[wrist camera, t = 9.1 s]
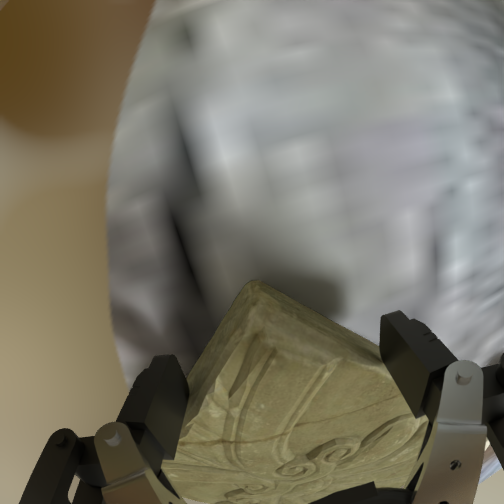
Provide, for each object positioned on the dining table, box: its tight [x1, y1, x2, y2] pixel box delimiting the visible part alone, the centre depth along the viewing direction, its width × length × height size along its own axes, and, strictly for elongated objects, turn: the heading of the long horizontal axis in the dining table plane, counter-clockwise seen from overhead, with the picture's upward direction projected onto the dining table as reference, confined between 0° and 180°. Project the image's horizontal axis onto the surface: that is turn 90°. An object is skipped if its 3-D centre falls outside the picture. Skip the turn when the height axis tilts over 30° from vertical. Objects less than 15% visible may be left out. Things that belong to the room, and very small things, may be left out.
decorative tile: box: [161, 280, 428, 504], centre depth 13 cm, size 19×20×4 cm
